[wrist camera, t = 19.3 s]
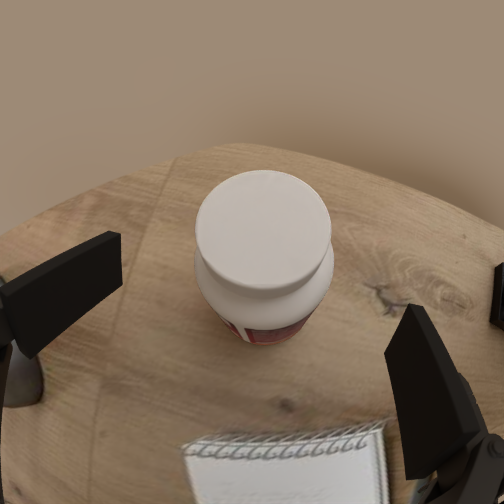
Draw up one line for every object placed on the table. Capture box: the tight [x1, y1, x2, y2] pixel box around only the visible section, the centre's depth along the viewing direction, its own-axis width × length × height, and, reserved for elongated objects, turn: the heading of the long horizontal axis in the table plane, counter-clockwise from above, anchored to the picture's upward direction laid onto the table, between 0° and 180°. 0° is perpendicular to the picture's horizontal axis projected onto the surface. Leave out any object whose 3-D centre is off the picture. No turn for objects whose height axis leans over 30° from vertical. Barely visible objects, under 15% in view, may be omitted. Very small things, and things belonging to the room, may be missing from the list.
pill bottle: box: [194, 170, 334, 345], centre depth 14 cm, size 6×6×11 cm
